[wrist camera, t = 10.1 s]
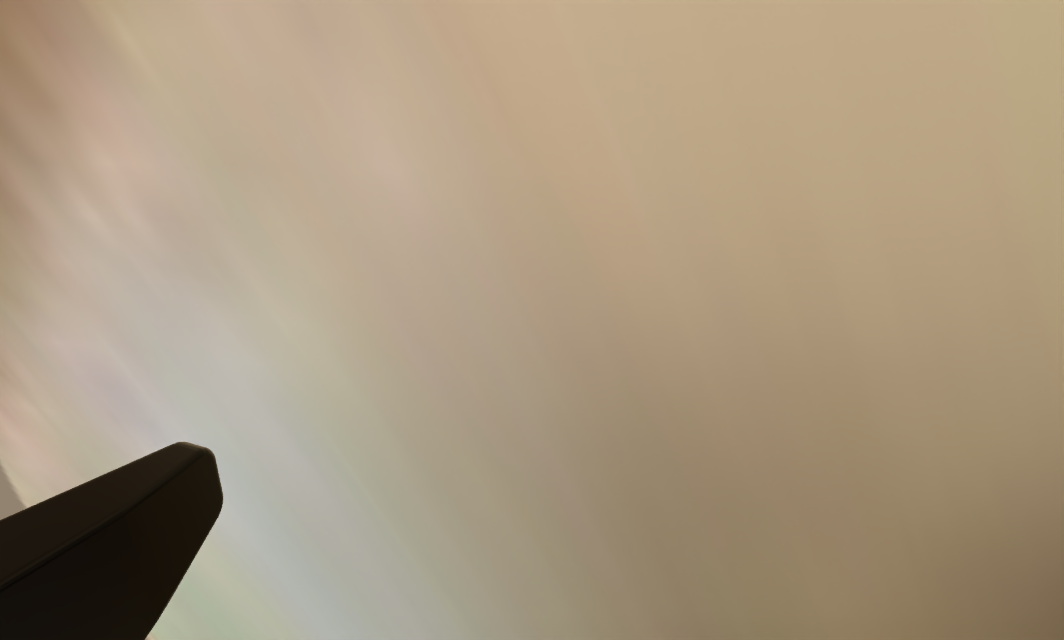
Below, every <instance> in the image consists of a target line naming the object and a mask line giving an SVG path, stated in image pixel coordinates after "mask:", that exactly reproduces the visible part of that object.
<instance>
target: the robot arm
mask: <svg viewBox="0 0 1064 640" xmlns="http://www.w3.org/2000/svg"><path fill="white" fill-rule="evenodd" d="M222 504H223V492H222V487H221V483H220V478H219V473H218V469H217V464H216V459H215V456H214V454H213V452H212V451H211V450H210V449H208V448H205V447H202V446H198V445H195V444H191V443H188V442H178V443H175V444H172V445H170V446H167V447H165V448H163V449H161V450H158V451H156V452H154V453H151V454H149V455H147V456H145V457H142V458H140V459H138V460H136V461H133V462H131V463H129V464H127V465H124V466H122V467H120V468H118V469H115V470H113V471H111V472H108V473H106V474H104V475H102V476H99V477H97V478H95V479H93V480H90V481H88V482H86V483H84V484H81V485H79V486H77V487H74V488H72V489H70V490H68V491H65V492H63V493H61V494H59V495H56V496H54V497H52V498H50V499H47V500H45V501H43V502H40V503H38V504H36V505H34V506H31V507H29V508H27V509H25V510H22V511H20V512H18V513H16V514H14V515H11V516H9V517H7V518H4V519H2V520H0V640H145V638H146V637H147V635H148V634H149V632H150V631H151V630H152V628H153V627H154V625H155V624H156V622H157V621H158V619H159V618H160V616H161V614H162V613H163V611H164V609H165V608H166V606H167V605H168V603H169V601H170V599H171V598H172V596H173V594H174V593H175V591H176V589H177V587H178V586H179V584H180V582H181V580H182V579H183V577H184V575H185V574H186V572H187V570H188V568H189V567H190V565H191V563H192V561H193V560H194V558H195V556H196V555H197V553H198V551H199V549H200V548H201V546H202V544H203V542H204V541H205V539H206V537H207V535H208V534H209V532H210V530H211V529H212V527H213V525H214V523H215V522H216V520H217V518H218V516H219V514H220V511H221V509H222Z"/></svg>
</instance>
